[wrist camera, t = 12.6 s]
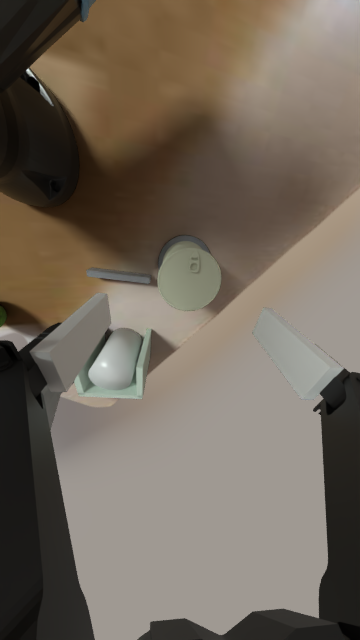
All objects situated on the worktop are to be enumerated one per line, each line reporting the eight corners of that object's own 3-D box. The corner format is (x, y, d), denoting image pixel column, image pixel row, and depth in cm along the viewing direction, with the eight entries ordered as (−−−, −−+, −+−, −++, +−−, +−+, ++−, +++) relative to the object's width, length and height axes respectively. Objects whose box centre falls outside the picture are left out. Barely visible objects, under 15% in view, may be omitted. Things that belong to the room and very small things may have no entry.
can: (212, 245, 30) (232, 253, 19) (201, 290, 34) (213, 316, 24) (164, 237, 29) (159, 241, 18) (160, 284, 33) (154, 309, 23)
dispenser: (89, 267, 32) (42, 287, 21) (154, 275, 33) (143, 298, 22) (103, 353, 44) (78, 396, 33) (150, 357, 45) (142, 399, 34)
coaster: (160, 231, 29) (160, 231, 28) (216, 239, 30) (217, 240, 29) (157, 287, 34) (156, 288, 34) (204, 292, 35) (205, 293, 35)
